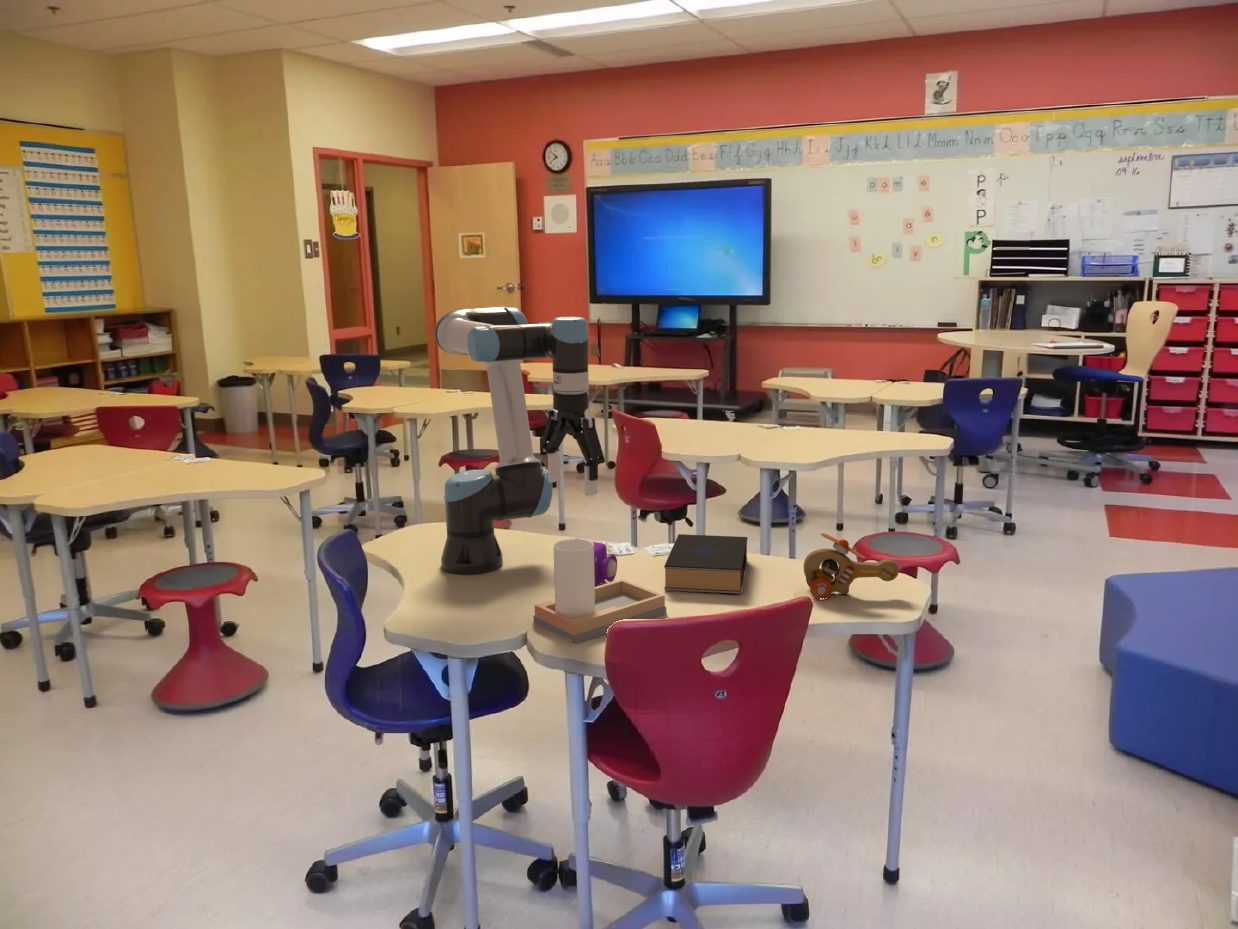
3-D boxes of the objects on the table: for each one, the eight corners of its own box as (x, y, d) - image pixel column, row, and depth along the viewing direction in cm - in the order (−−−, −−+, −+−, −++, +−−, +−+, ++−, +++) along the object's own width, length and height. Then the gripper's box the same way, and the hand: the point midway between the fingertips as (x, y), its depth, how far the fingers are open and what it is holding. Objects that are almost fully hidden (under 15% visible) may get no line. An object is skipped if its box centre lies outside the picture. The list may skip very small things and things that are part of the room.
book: (747, 562, 234) (747, 536, 233) (740, 597, 210) (741, 569, 209) (678, 559, 237) (678, 534, 236) (664, 593, 213) (664, 565, 212)
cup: (555, 612, 198) (553, 539, 194) (594, 610, 198) (592, 538, 195) (556, 627, 190) (553, 551, 186) (596, 625, 190) (595, 550, 187)
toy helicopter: (800, 587, 214) (802, 530, 211) (892, 588, 213) (895, 530, 210) (805, 600, 206) (807, 540, 203) (901, 601, 205) (904, 541, 202)
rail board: (533, 622, 196) (533, 604, 195) (621, 595, 211) (621, 578, 210) (576, 643, 185) (576, 624, 184) (666, 613, 200) (666, 595, 199)
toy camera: (613, 594, 212) (612, 552, 210) (555, 591, 215) (553, 549, 213) (622, 578, 222) (622, 538, 220) (567, 575, 225) (565, 535, 223)
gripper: (523, 385, 205) (526, 479, 210) (591, 401, 186) (592, 503, 191) (551, 382, 210) (553, 473, 215) (621, 397, 191) (621, 497, 196)
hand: (572, 488), depth 203 cm, fingers open, 13 cm apart
